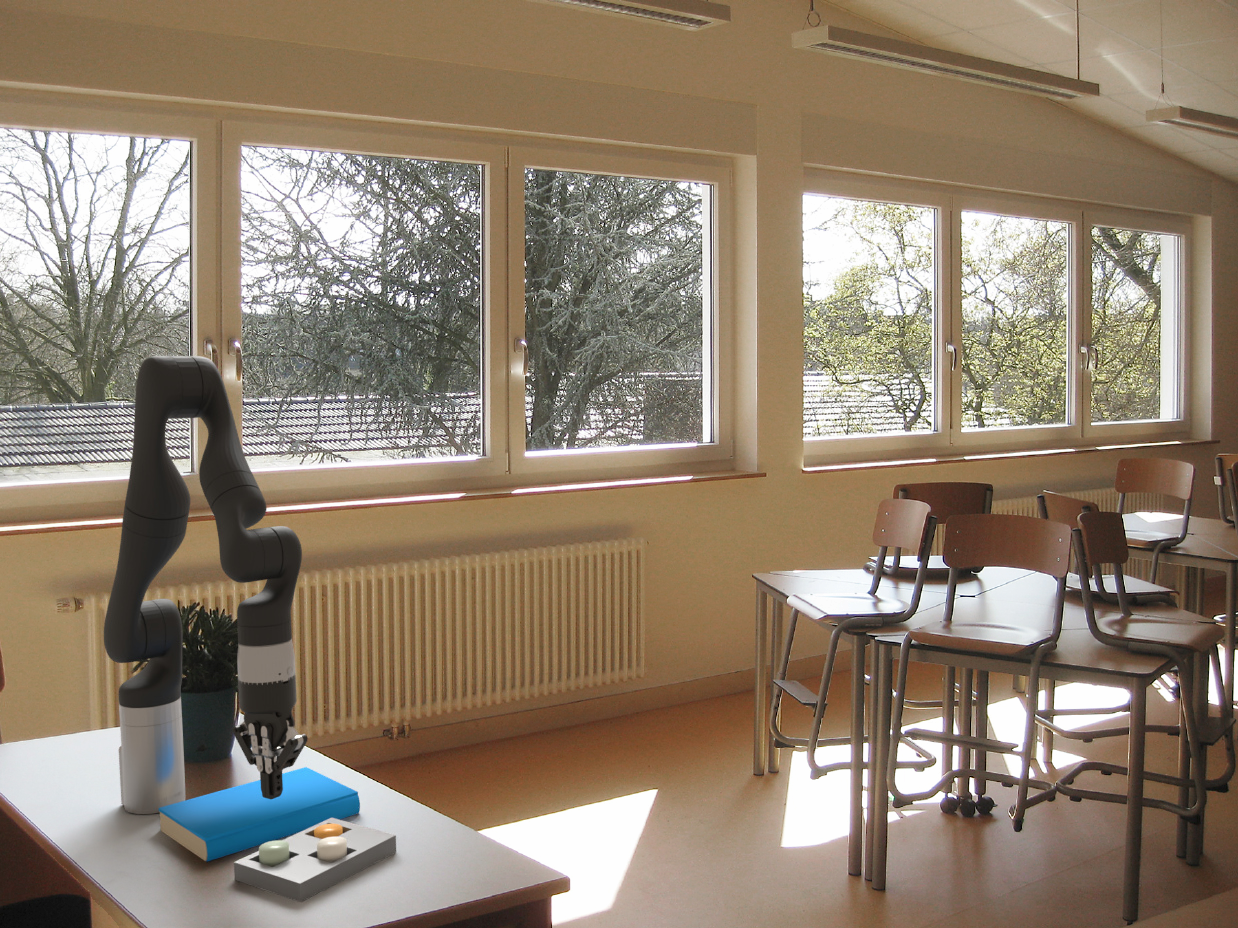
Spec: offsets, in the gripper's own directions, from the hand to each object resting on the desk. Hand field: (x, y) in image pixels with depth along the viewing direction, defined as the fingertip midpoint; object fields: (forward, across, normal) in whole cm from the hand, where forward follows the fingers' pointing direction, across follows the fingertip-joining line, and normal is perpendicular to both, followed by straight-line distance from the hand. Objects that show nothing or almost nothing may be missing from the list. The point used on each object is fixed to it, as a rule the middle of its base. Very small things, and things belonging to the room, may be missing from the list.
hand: (272, 796), depth 156 cm
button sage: (+10, 0, 0) cm, 10 cm away
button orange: (+11, 0, +10) cm, 15 cm away
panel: (+11, +3, +5) cm, 12 cm away
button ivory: (+10, +6, +5) cm, 12 cm away
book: (+12, -17, +12) cm, 24 cm away
